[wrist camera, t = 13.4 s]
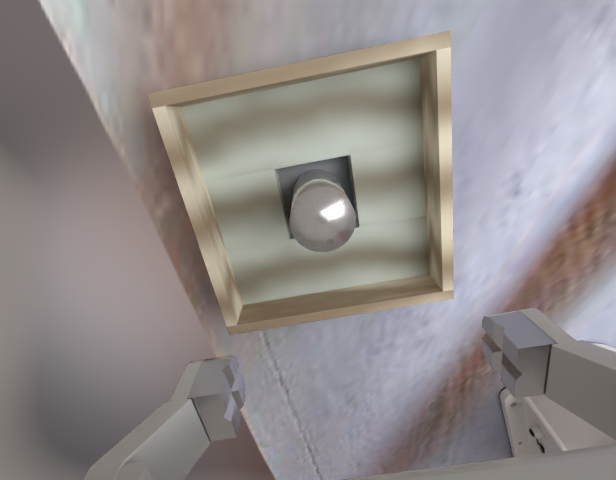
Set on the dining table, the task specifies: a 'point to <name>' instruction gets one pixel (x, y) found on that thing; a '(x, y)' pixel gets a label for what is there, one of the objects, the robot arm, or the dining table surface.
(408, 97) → the socket box
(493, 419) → the dining table surface
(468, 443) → the dining table surface
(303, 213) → the peg
